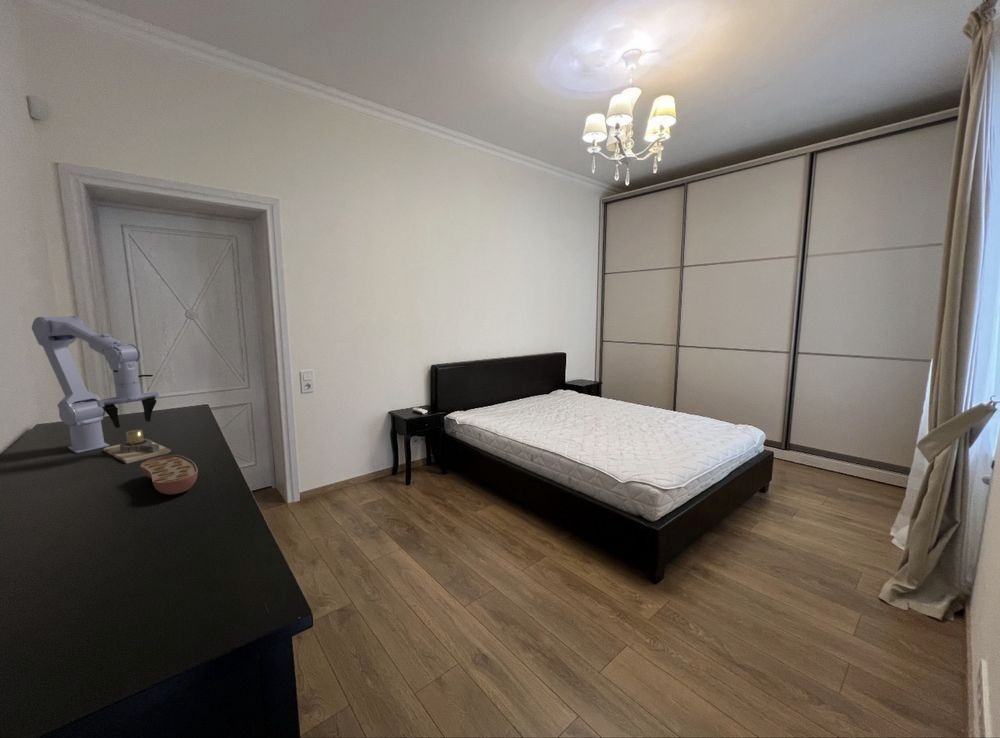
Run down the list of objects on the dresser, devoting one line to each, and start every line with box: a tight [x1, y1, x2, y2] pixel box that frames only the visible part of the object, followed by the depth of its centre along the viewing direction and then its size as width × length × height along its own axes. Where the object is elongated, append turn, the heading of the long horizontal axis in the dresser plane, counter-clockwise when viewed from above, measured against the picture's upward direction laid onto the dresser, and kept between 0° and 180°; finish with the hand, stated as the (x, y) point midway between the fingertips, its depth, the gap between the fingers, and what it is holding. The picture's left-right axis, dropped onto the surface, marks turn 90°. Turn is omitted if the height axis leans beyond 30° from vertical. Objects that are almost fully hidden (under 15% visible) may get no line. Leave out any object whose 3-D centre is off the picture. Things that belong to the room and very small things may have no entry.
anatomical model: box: [139, 454, 199, 496], centre depth 107 cm, size 23×10×5 cm, turn 51°
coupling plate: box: [103, 438, 171, 464], centre depth 130 cm, size 20×11×3 cm, turn 59°
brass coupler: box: [125, 428, 145, 446], centre depth 130 cm, size 4×4×6 cm
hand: (132, 424), depth 129 cm, fingers open, 7 cm apart
